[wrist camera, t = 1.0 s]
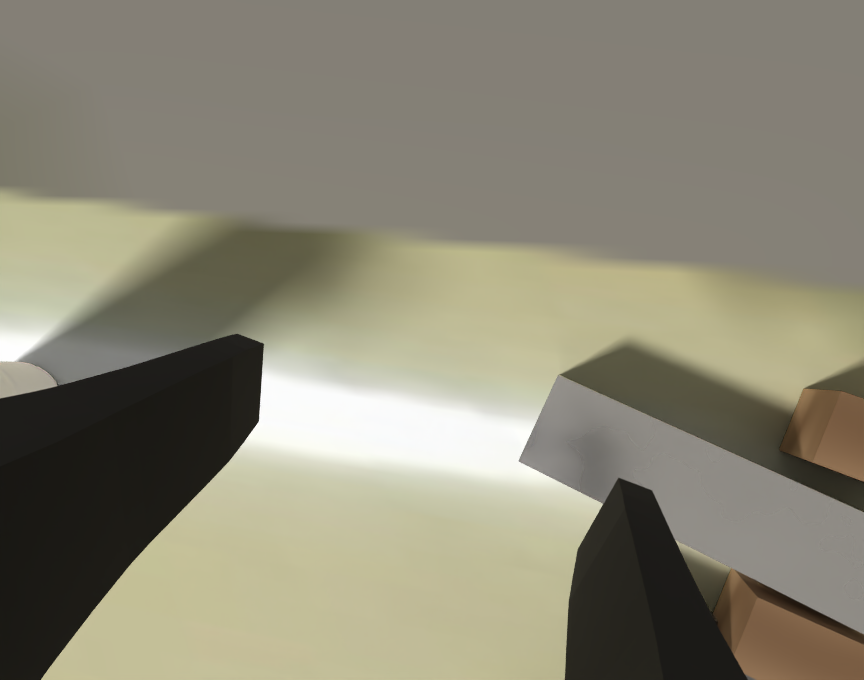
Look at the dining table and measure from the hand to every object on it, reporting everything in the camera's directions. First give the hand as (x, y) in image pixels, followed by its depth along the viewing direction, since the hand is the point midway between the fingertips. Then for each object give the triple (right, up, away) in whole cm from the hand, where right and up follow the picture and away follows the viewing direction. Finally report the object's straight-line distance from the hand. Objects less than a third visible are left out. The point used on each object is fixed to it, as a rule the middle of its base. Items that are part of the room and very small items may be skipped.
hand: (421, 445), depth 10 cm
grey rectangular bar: (+11, -4, +12) cm, 16 cm away
